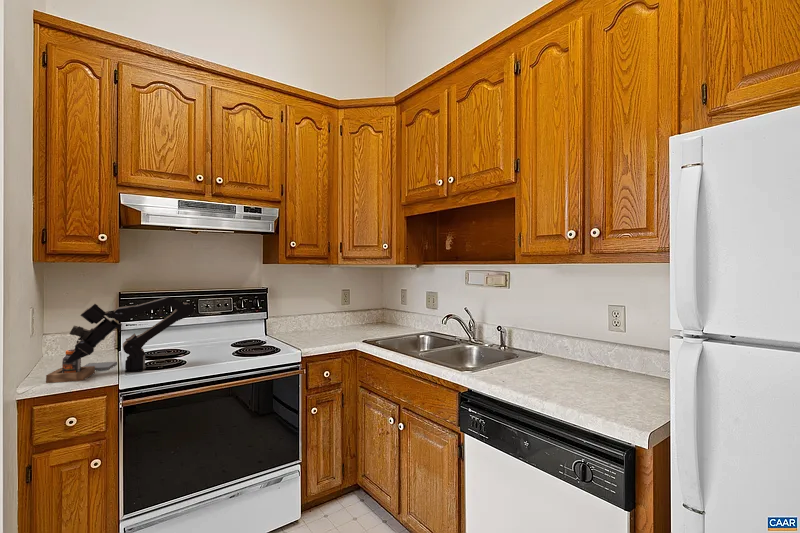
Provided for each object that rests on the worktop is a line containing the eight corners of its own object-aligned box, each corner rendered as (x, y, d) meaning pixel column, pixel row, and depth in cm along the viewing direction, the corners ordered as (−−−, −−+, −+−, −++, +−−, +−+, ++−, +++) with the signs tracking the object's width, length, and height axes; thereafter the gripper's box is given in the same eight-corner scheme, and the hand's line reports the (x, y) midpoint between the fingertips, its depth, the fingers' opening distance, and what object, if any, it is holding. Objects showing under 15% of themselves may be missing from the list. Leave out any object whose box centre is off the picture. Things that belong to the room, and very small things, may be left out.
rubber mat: (117, 364, 191) (117, 361, 191) (108, 369, 180) (108, 367, 180) (89, 365, 187) (89, 363, 187) (78, 371, 177) (78, 368, 177)
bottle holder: (94, 373, 175) (94, 366, 175) (82, 380, 163) (82, 373, 163) (60, 375, 171) (60, 367, 171) (46, 382, 160) (46, 375, 160)
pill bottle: (58, 380, 164) (59, 351, 164) (66, 376, 169) (67, 348, 169) (76, 379, 165) (76, 351, 165) (83, 375, 171) (83, 348, 171)
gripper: (85, 316, 177) (51, 344, 171) (83, 321, 162) (46, 352, 156) (107, 332, 182) (75, 360, 175) (107, 339, 167) (72, 370, 160)
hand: (67, 360), depth 167 cm, fingers open, 7 cm apart
